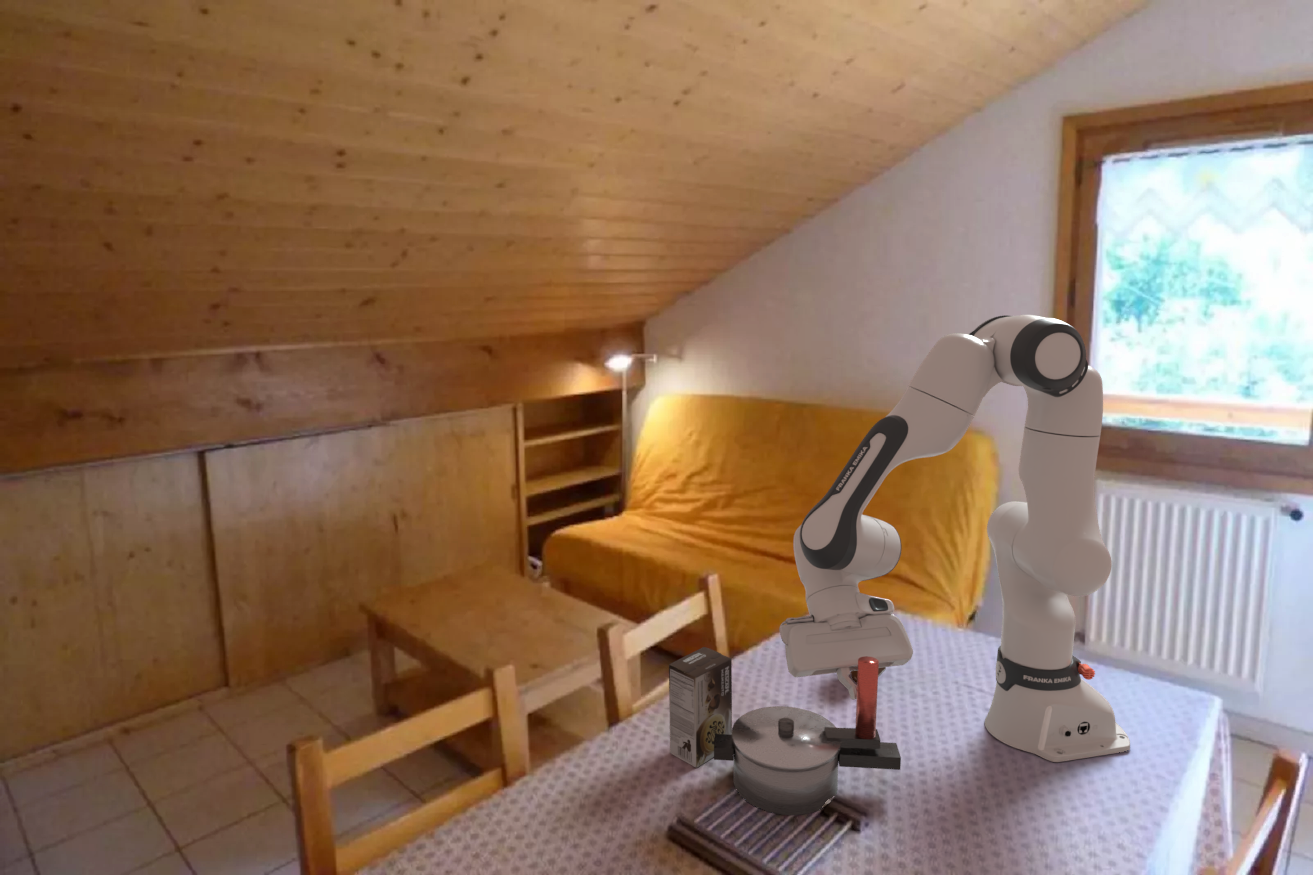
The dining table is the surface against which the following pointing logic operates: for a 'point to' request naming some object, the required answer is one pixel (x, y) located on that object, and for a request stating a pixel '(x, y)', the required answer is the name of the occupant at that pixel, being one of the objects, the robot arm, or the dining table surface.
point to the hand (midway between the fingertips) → (861, 697)
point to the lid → (808, 730)
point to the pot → (798, 777)
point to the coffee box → (699, 704)
